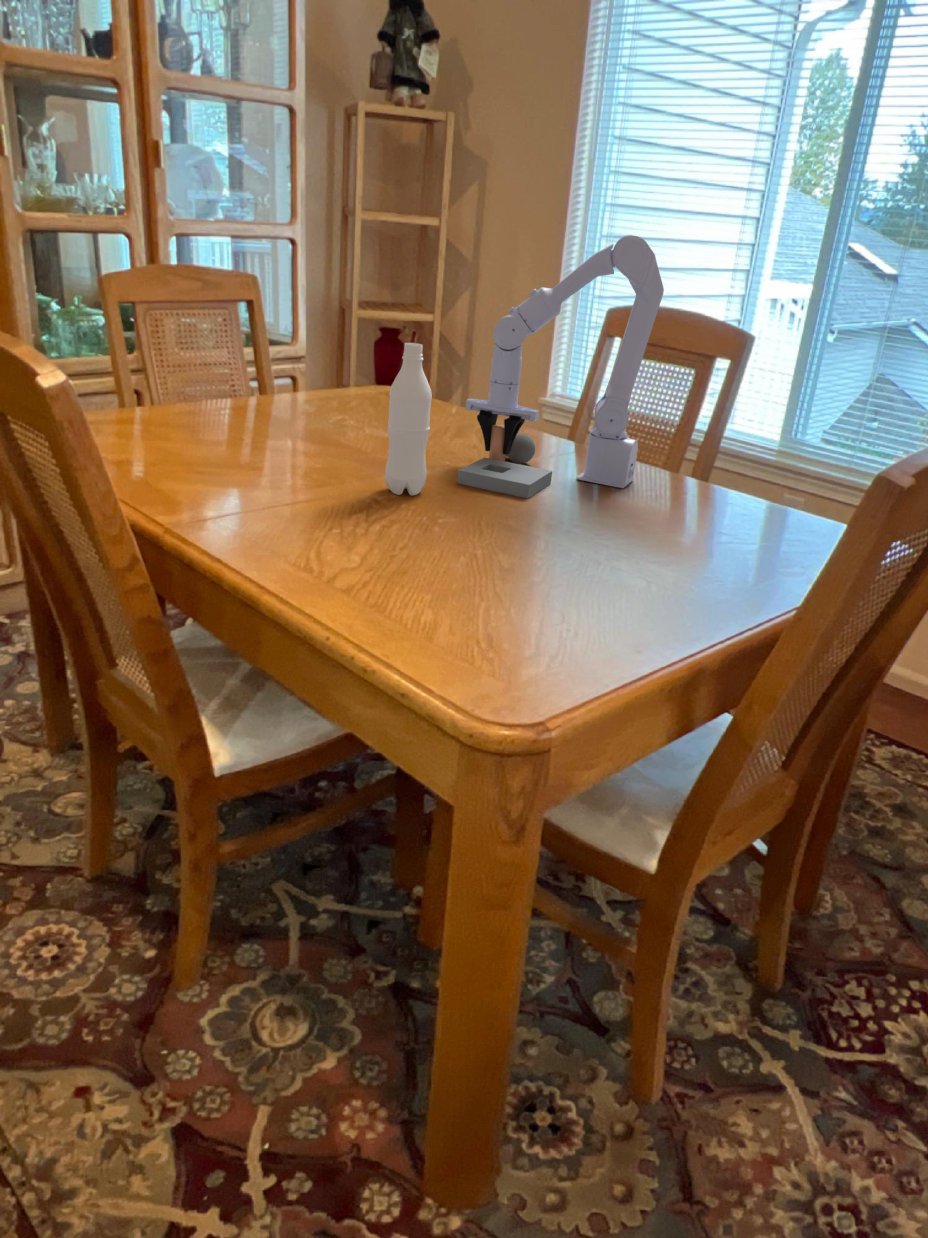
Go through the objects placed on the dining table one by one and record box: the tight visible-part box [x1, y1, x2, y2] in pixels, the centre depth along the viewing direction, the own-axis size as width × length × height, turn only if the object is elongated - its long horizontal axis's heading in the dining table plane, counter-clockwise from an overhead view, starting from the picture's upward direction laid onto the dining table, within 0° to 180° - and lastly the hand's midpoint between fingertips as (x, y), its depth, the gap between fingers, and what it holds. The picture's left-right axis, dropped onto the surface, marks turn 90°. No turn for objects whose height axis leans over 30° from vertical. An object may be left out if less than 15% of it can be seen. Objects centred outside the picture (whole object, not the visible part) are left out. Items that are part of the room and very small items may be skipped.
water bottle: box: [384, 342, 433, 497], centre depth 150 cm, size 7×7×25 cm
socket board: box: [456, 457, 553, 499], centre depth 165 cm, size 14×12×2 cm
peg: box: [488, 424, 506, 462], centre depth 175 cm, size 3×3×8 cm
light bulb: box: [505, 433, 536, 465], centre depth 181 cm, size 6×6×10 cm
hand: (497, 451), depth 175 cm, fingers closed on peg, 3 cm apart
